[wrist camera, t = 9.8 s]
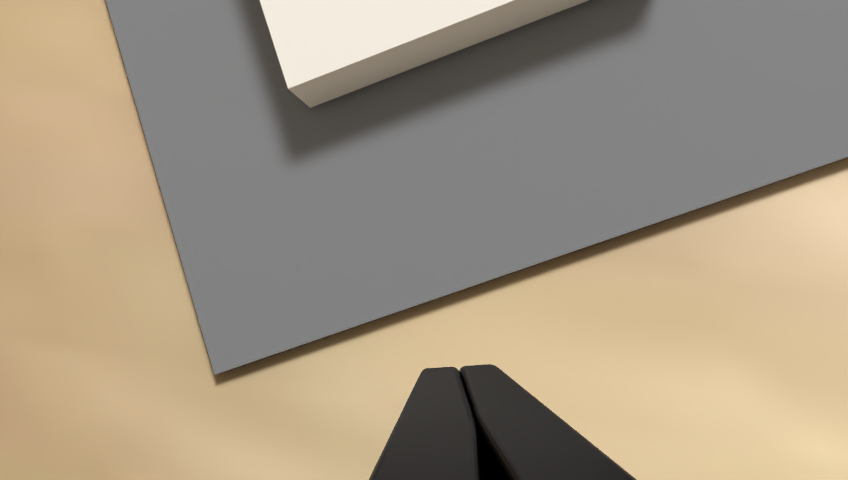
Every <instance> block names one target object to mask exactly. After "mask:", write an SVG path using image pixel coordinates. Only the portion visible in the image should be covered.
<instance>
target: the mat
mask: <svg viewBox="0 0 848 480" xmlns="http://www.w3.org/2000/svg"><path fill="white" fill-rule="evenodd" d="M106 4H107V7H108V10H109V14H110V17H111V21H112V24H113V28H114V31H115V35H116V38H117V41H118V45H119V48H120V52H121V55H122V59H123V62H124V66H125V69H126V72H127V76H128V79H129V83H130V86H131V90H132V93H133V97H134V100H135V103H136V107H137V110H138V114H139V117H140V121H141V124H142V128H143V131H144V134H145V138H146V141H147V145H148V148H149V152H150V155H151V158H152V162H153V165H154V169H155V172H156V176H157V179H158V183H159V186H160V189H161V193H162V196H163V200H164V203H165V207H166V210H167V214H168V217H169V220H170V224H171V227H172V231H173V234H174V238H175V241H176V245H177V248H178V251H179V255H180V258H181V262H182V265H183V269H184V272H185V276H186V279H187V282H188V286H189V289H190V293H191V296H192V300H193V303H194V307H195V310H196V313H197V317H198V320H199V324H200V327H201V331H202V334H203V337H204V341H205V344H206V348H207V351H208V355H209V358H210V362H211V365H212V368H213V372H214V375H215V374H220V373H223V372H226V371H229V370H232V369H234V368H237V367H240V366H243V365H246V364H249V363H252V362H255V361H258V360H261V359H263V358H266V357H269V356H272V355H275V354H278V353H281V352H284V351H287V350H290V349H293V348H295V347H298V346H301V345H304V344H307V343H310V342H313V341H316V340H319V339H322V338H324V337H327V336H330V335H333V334H336V333H339V332H342V331H345V330H348V329H351V328H354V327H356V326H359V325H362V324H365V323H368V322H371V321H374V320H377V319H380V318H383V317H386V316H388V315H391V314H394V313H397V312H400V311H403V310H406V309H409V308H412V307H415V306H417V305H420V304H423V303H426V302H429V301H432V300H435V299H438V298H441V297H444V296H447V295H449V294H452V293H455V292H458V291H461V290H464V289H467V288H470V287H473V286H476V285H479V284H481V283H484V282H487V281H490V280H493V279H496V278H499V277H502V276H505V275H508V274H510V273H513V272H516V271H519V270H522V269H525V268H528V267H531V266H534V265H537V264H540V263H542V262H545V261H548V260H551V259H554V258H557V257H560V256H563V255H566V254H569V253H571V252H574V251H577V250H580V249H583V248H586V247H589V246H592V245H595V244H598V243H601V242H603V241H606V240H609V239H612V238H615V237H618V236H621V235H624V234H627V233H630V232H633V231H635V230H638V229H641V228H644V227H647V226H650V225H653V224H656V223H659V222H662V221H664V220H667V219H670V218H673V217H676V216H679V215H682V214H685V213H688V212H691V211H694V210H696V209H699V208H702V207H705V206H708V205H711V204H714V203H717V202H720V201H723V200H726V199H728V198H731V197H734V196H737V195H740V194H743V193H746V192H749V191H752V190H755V189H757V188H760V187H763V186H766V185H769V184H772V183H775V182H778V181H781V180H784V179H787V178H789V177H792V176H795V175H798V174H801V173H804V172H807V171H810V170H813V169H816V168H818V167H821V166H824V165H827V164H830V163H833V162H836V161H839V160H842V159H845V158H848V0H588V1H586V2H583V3H581V4H578V5H576V6H573V7H570V8H568V9H565V10H563V11H560V12H557V13H555V14H552V15H550V16H547V17H544V18H542V19H539V20H537V21H534V22H531V23H529V24H526V25H524V26H521V27H519V28H516V29H513V30H511V31H508V32H506V33H503V34H500V35H498V36H495V37H493V38H490V39H487V40H485V41H482V42H480V43H477V44H475V45H472V46H469V47H467V48H464V49H462V50H459V51H456V52H454V53H451V54H449V55H446V56H443V57H441V58H438V59H436V60H433V61H430V62H428V63H425V64H423V65H420V66H418V67H415V68H412V69H410V70H407V71H405V72H402V73H399V74H397V75H394V76H392V77H389V78H386V79H384V80H381V81H379V82H376V83H374V84H371V85H368V86H366V87H363V88H361V89H358V90H355V91H353V92H350V93H348V94H345V95H342V96H340V97H337V98H335V99H332V100H329V101H327V102H324V103H322V104H319V105H317V106H314V107H311V108H310V107H309V106H308V105H306V104H305V103H304V102H303V101H302V100H301V99H299V98H298V97H297V96H296V95H295V94H294V93H292V92H291V91H290V90H289V89H288V87H287V84H286V81H285V78H284V75H283V72H282V68H281V65H280V62H279V59H278V56H277V53H276V50H275V47H274V44H273V40H272V37H271V34H270V31H269V28H268V25H267V22H266V19H265V16H264V12H263V9H262V6H261V3H260V0H106Z"/></svg>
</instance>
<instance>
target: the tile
mask: <svg viewBox="0 0 848 480" xmlns="http://www.w3.org/2000/svg"><path fill="white" fill-rule="evenodd" d="M586 1H588V0H260V3H261V6H262V9H263V12H264V16H265V19H266V22H267V25H268V28H269V31H270V34H271V37H272V40H273V44H274V47H275V50H276V53H277V56H278V59H279V62H280V65H281V68H282V72H283V75H284V78H285V81H286V84H287V87H288V89H289V90H290V91H291V92H292V93H294V94H295V95H296V96H297V97H298V98H299V99H301V100H302V101H303V102H304V103H305V104H306V105H308V106H309V107H310V108H311V107H314V106H317V105H319V104H322V103H324V102H327V101H329V100H332V99H335V98H337V97H340V96H342V95H345V94H348V93H350V92H353V91H355V90H358V89H361V88H363V87H366V86H368V85H371V84H374V83H376V82H379V81H381V80H384V79H386V78H389V77H392V76H394V75H397V74H399V73H402V72H405V71H407V70H410V69H412V68H415V67H418V66H420V65H423V64H425V63H428V62H430V61H433V60H436V59H438V58H441V57H443V56H446V55H449V54H451V53H454V52H456V51H459V50H462V49H464V48H467V47H469V46H472V45H475V44H477V43H480V42H482V41H485V40H487V39H490V38H493V37H495V36H498V35H500V34H503V33H506V32H508V31H511V30H513V29H516V28H519V27H521V26H524V25H526V24H529V23H531V22H534V21H537V20H539V19H542V18H544V17H547V16H550V15H552V14H555V13H557V12H560V11H563V10H565V9H568V8H570V7H573V6H576V5H578V4H581V3H583V2H586Z"/></svg>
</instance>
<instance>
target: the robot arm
mask: <svg viewBox="0 0 848 480" xmlns="http://www.w3.org/2000/svg"><path fill="white" fill-rule="evenodd" d="M369 480H636V479H635V478H634V477H633V476H631V475H630V474H629V473H628V472H626V471H625V470H624V469H623V468H621V467H620V466H619V465H618V464H617V463H615V462H614V461H613V460H612V459H610V458H609V457H608V456H607V455H605V454H604V453H603V452H602V451H600V450H599V449H598V448H597V447H595V446H594V445H593V444H592V443H591V442H589V441H588V440H587V439H586V438H584V437H583V436H582V435H581V434H579V433H578V432H577V431H576V430H574V429H573V428H572V427H571V426H570V425H568V424H567V423H566V422H565V421H563V420H562V419H561V418H560V417H558V416H557V415H556V414H555V413H553V412H552V411H551V410H550V409H549V408H547V407H546V406H545V405H544V404H542V403H541V402H540V401H539V400H537V399H536V398H535V397H534V396H532V395H531V394H530V393H529V392H527V391H526V390H525V389H524V388H523V387H521V386H520V385H519V384H518V383H516V382H515V381H514V380H513V379H511V378H510V377H509V376H508V375H506V374H505V373H504V372H503V371H502V370H500V369H499V368H498V367H496V366H494V365H490V364H489V365H474V366H464V367H462V368H461V369H460V370H459V371H458V369H456V368H455V367H442V368H427V369H424V370H423V371H422V372H421V374H420V376H419V378H418V380H417V382H416V384H415V386H414V388H413V390H412V392H411V394H410V396H409V398H408V400H407V402H406V404H405V406H404V409H403V411H402V413H401V415H400V417H399V419H398V421H397V423H396V425H395V427H394V429H393V431H392V433H391V435H390V437H389V439H388V441H387V443H386V445H385V447H384V450H383V452H382V454H381V456H380V458H379V460H378V462H377V464H376V466H375V468H374V470H373V472H372V474H371V476H370V478H369Z"/></svg>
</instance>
